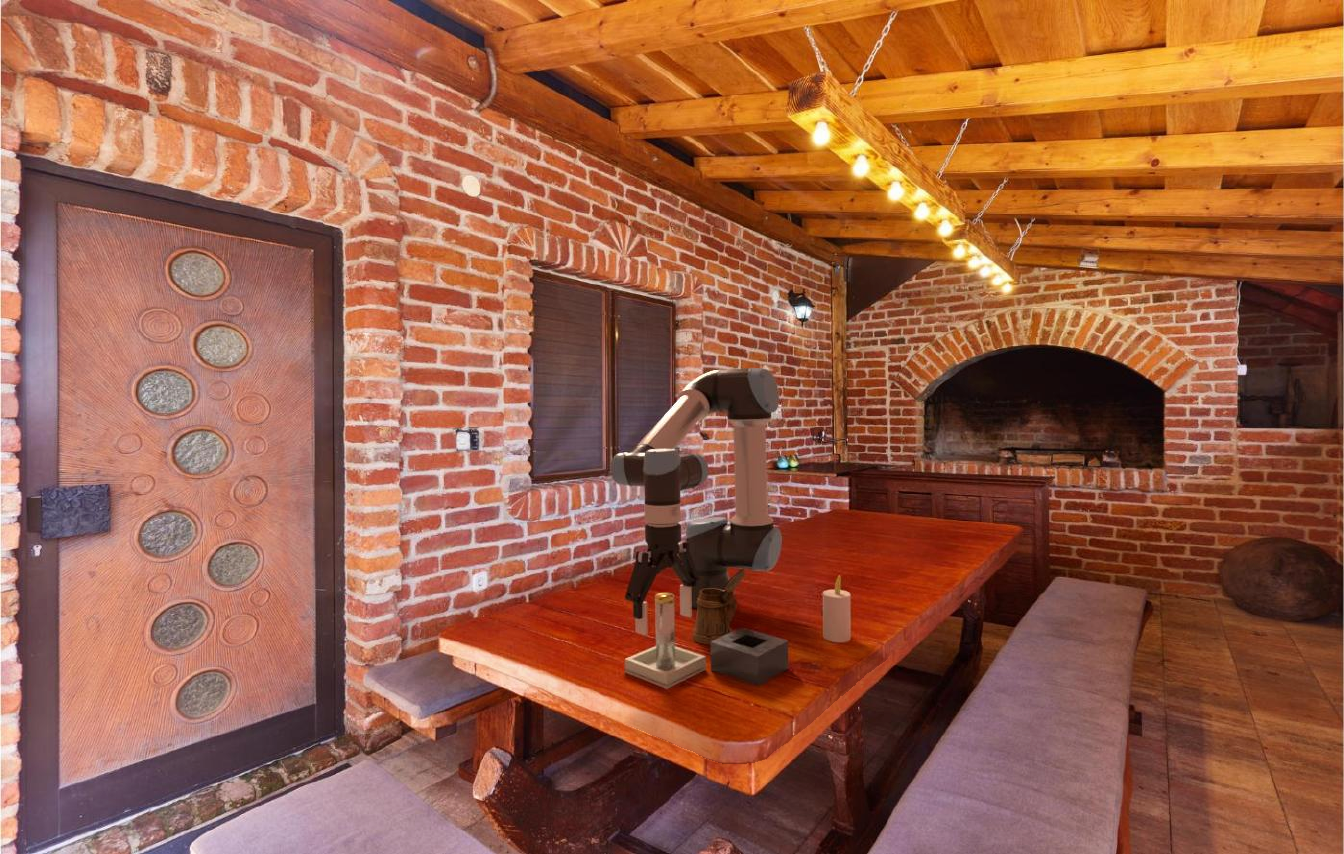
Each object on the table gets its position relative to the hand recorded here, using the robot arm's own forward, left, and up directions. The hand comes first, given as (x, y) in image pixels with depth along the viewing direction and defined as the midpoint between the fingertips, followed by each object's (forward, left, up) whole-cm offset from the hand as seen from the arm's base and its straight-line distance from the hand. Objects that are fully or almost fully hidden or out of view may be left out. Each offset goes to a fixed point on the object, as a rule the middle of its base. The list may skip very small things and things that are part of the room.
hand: (664, 624), depth 135 cm
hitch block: (+13, +12, -10) cm, 20 cm away
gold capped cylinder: (0, 0, -9) cm, 9 cm away
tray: (0, 0, -10) cm, 10 cm away
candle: (+18, +40, -10) cm, 45 cm away
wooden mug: (-2, +21, -10) cm, 23 cm away
